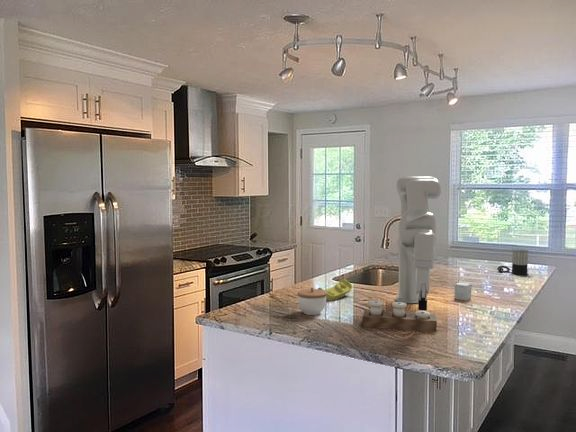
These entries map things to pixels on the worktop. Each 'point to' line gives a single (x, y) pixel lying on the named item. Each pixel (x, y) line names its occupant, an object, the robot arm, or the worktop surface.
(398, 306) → the knob
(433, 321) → the mount
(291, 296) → the worktop surface
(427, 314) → the knob
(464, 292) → the product box
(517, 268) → the milk frother
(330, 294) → the plastic component
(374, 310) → the knob
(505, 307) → the worktop surface
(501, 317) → the worktop surface
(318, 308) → the lidded bowl
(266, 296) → the worktop surface
